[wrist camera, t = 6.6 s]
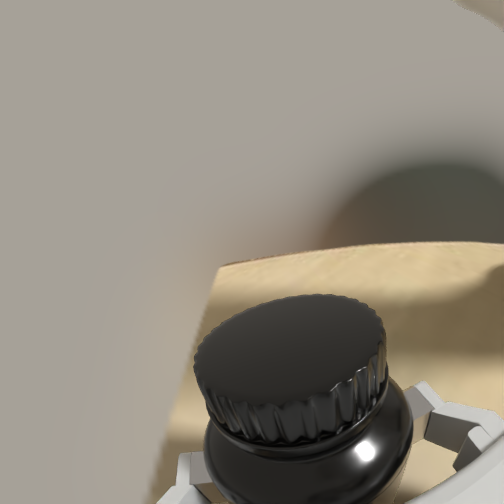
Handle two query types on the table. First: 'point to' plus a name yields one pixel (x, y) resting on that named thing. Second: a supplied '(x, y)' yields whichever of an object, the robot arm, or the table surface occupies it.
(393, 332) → the table surface
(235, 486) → the supplement bottle
